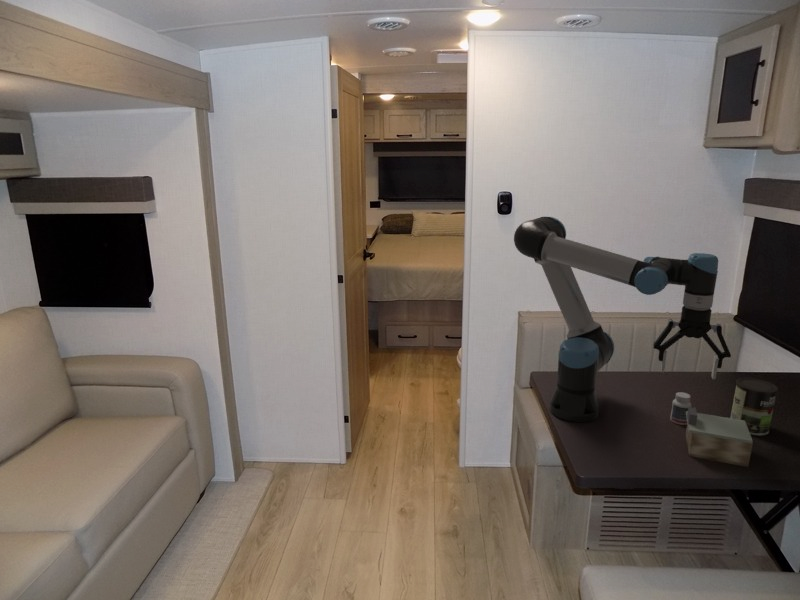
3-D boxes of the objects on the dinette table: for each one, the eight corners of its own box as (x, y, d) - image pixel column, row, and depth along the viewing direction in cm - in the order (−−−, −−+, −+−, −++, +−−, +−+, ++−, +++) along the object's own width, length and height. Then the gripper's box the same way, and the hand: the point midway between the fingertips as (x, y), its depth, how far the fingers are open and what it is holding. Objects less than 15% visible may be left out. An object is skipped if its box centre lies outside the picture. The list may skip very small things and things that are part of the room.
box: (688, 455, 144) (692, 433, 142) (685, 436, 154) (688, 415, 152) (748, 467, 139) (752, 443, 137) (740, 446, 149) (745, 424, 147)
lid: (689, 432, 142) (691, 420, 141) (685, 413, 153) (687, 401, 152) (752, 443, 137) (754, 430, 136) (744, 423, 147) (746, 410, 146)
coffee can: (777, 431, 156) (786, 388, 152) (754, 438, 152) (763, 394, 148) (743, 415, 165) (751, 374, 161) (721, 422, 161) (728, 380, 158)
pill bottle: (691, 426, 160) (695, 399, 157) (672, 424, 161) (676, 398, 158) (685, 417, 165) (689, 392, 162) (667, 416, 166) (671, 390, 163)
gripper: (650, 306, 154) (642, 372, 160) (749, 314, 144) (737, 385, 150) (649, 299, 161) (642, 363, 166) (744, 307, 151) (733, 375, 157)
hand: (687, 374), depth 158 cm, fingers open, 13 cm apart
